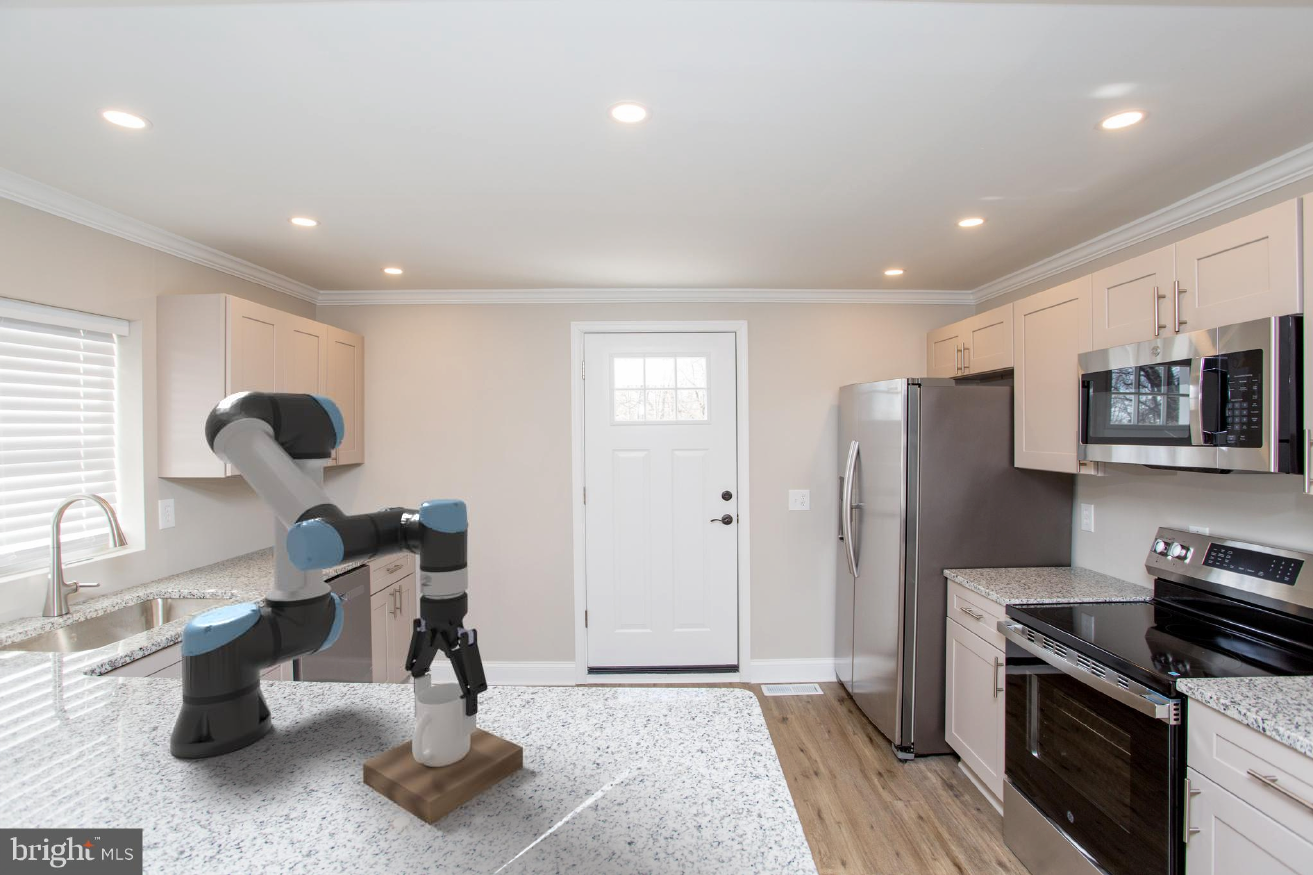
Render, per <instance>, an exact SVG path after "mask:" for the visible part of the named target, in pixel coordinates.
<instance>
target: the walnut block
mask: <svg viewBox="0 0 1313 875" xmlns="http://www.w3.org/2000/svg"><path fill="white" fill-rule="evenodd" d="M412 740H413V738H412V739H411V740H408V741H406V742H404V743H402V744H400V745H398V746H396V747H394V748H392V749H389V750H388V751H386V752H383V753H381V754H379V755H377V756H374V757H373V758H371V759H369V760H366V761H365V762H363V763H362V767H363V768H362V781H363V784H365V785H366V786H367V787H369V788H371V789H372V790H374V791H375V792H377V793H378V794H380V795H382V796H383V797H385V798H386V799H388V800H390V801H391V802H393V803H395V804H396V805H397V806H399V807H401V808H403V809H404V810H405V811H407V812H409V813H410V814H412V815H413V816H414V817H417V818H418V819H419V820H421V821H422V822H424V823H426V824H427V823H428V825H429V826H431V825H433V824H434V823H436V822H437V821H439V820H441V819H442V818H443V817H446V816H447V815H449V814H450V813H452V812H453V811H455V810H457V809H458V808H460V807H462V806H463V805H465V804H466V803H467V802H469V801H471V800H473V799H475V798H476V797H477V796H479V795H481V794H483V793H484V792H485V791H487V790H488V789H490V788H492V787H494V786H495V785H496V784H498V783H500V782H501V781H503V780H505V779H506V778H508V777H509V776H511V775H513V774H514V773H516V772H517V771H519V770H520V769H523V767H524V755H523V754H524V747H523V746H521V745H519V744H516V743H514V742H512V741H510V740H507V739H505V738H503V737H500V736H498V735H496V734H494V733H491V732H489V731H486V730H484V729H482V728H480V727H477V726H476V731H475V732H473V733H471V734H470V749H469V752H468V753H467V754H466V756H465V757H464V758H462V759H461V760H459V761H458V762H456V763H453V764H451V765H447V766H443V767H429V766H426V765H424V764H423V763H419V762H417V761H416V760H415V758H414V756H413V752H412Z"/></svg>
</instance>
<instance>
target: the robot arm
mask: <svg viewBox="0 0 1313 875" xmlns="http://www.w3.org/2000/svg"><path fill="white" fill-rule="evenodd" d="M204 425H205V427H204V434H205V436H204V437H205V439H206V442H207V445H208V446H209V448H210V449H211V451H212V452H213V454H215V456H216V457H217V458H218V459H219V460H220V461H221V462H223V463H225V464H228V465H232V466H233V467H234V469H236V471H237V472H239V474H240V475H241V476H242V478H243V479H245V481H246V482H247V483H248V485H249V486H250V487H251V488H252V489H253V491H255V493H256V494H257V495H258V496H259V497H260V499H261V500H262V501H263V502H264V503H265V504H266V506H268V508H269V509H270V510H271V511H272V513H273V519H274V520H273V522H274V524H273V533H274V534H273V536H274V537H273V540H274V541H273V545H274V546H273V549H274V550H273V551H274V552H273V577H274V578H273V586H272V587H271V588H270V589H269V590H268V591H267V592H266V593H265V595H264V596H265V597H264V606H262V607H259V605H258V604H257V603H253V602H242V603H236V604H233V605H232V604H231V605H225V606H221V607H218V608H214V609H211V610H208V611H206V612H203V613H202V614H199V615H198V616H195V617H194V618H193V619H191V620H190V621H189V622H188V623H186V625H185V627H183V630H182V641H181V646H180V654H181V672H182V673H181V678H182V680H181V682H182V684H181V687H182V704H181V707H180V711H179V714H178V716H177V719H176V721H175V724H174V727H173V728H172V729H173V730H172V732H171V735H170V738H169V741H170V742H169V746H170V747H169V749H170V750H169V751H170V754H171V755H172V756H174V757H175V758H180V759H188V760H192V759H193V760H195V759H204V758H210V757H216V756H220V755H224V754H228V753H230V752H234V751H236V750H240V749H242V748H245V747H246V746H249V745H251V744H254V743H255V742H257V741H258V740H260V739H261V738H263V737H264V736H266V735H267V734H268V733H269V731H270V730H271V728H272V712H271V710H270V707H269V705H268V702H267V700H266V697H265V696H264V693H263V691H262V688H261V671H263V670H265V669H270V668H272V667H274V666H278V665H281V664H285V663H287V662H288V663H289V662H290V661H293V660H298V659H301V658H303V657H308V656H312V655H315V654H316V653H318V652H321V651H323V650H325V649H327V648H330V647H332V645H333V644H335V642H336V641H337V640H338V638H339V637H340V635H341V632H342V629H343V626H344V618H345V616H344V615H345V614H344V613H345V612H344V607H343V606H342V605H341V604H342V600H341V599H340V597H339V596H338V595H337V594H336V593H334V592H332V587H331V586H330V584H328V583H327V582H325V581H324V579H323V578H324V576H323V575H324V574H323V573H324V572H323V571H324V570H327V569H332V568H334V567H338V566H339V567H340V566H345V565H349V564H353V563H357V562H362V561H367V560H372V559H377V558H383V557H387V556H391V555H398V554H411V555H412V554H413V555H418V556H419V571H420V572H419V574H420V575H419V576H420V578H419V587H420V588H419V590H420V591H419V592H420V594H422V595H421V596H420V598H419V617H417V618H415V619H413V620H412V628H413V629H412V630H413V631H412V635H411V640H410V644H409V648H408V651H407V656H406V661H405V663H404V664H405V665H404V669H405V671H406V672H410V673H411V677H412V678H413V692H414V693H413V694H414V717H415V718H417V712H416V697H417V695H418V694H419V693H420V692H421V691H423V690H424V689H426V688H429V687H431V686H432V673H429V672H431V671H432V670H431V668H430V667H431V665H432V663H433V661H434V659H435V657H436V655H437V653H438V652H439V650H440V651H441V652H443V653H444V656H445V657H446V659H449V661H450V664H451V666H452V668H453V669H452V670H453V672H454V674H455V677H456V679H457V681H458V682H457V683H459V685H460V687H461V690H462V693H463V695H461V696H459V737H461V738H463V737H465V736H467V735H469V734H471V733H473V732H475V731H476V727H477V714H478V712H479V710H478V708H479V705H478V704H479V701H478V700H479V698H478V696H479V694H481V693H484V692H485V691H486V692H487V690H488V687H489V686H488V684H487V679H486V674H485V670H484V666H483V662H482V658H481V652H480V649H479V644H478V631H477V629H476V628H472V629H465V626H464V618H465V616H466V615H467V614H468V611H469V606H468V605H469V601H468V599H469V595H468V593H467V592H466V591H467V590H468V588H469V575H468V574H469V571H468V570H469V569H468V568H469V567H468V538H469V537H468V528H469V522H468V512H467V511H468V508H467V505H466V503H465V502H464V501H463V500H461V499H457V498H456V499H453V498H452V499H446V498H442V499H441V498H440V499H430V500H425V501H423V502H421V503H420V505H419V509H415V508H413V509H412V508H406V507H403V506H396V507H384V508H382V509H380V510H379V511H377V512H368V513H360V514H351V515H346V514H345V513H344V511H343V510H342V509H341V508H339V507H338V506H337V505H336V504H335V503H334V502H333V500H332V499H331V498H330V497H329V496H327V494H326V493H325V492H324V467H325V465H326V464H328V463H329V462H330V461H331V460H332V451H335V450H336V449H338V448H339V447H340V446H341V445H342V443H343V440H344V437H345V432H346V431H345V421H344V418H343V414H342V412H341V410H340V408H339V407H338V406H337V404H336V403H335V402H334V401H333V400H332V399H331V398H329V397H327V396H324V395H317V394H311V393H306V392H304V393H292V392H271V391H270V392H269V391H268V392H265V391H258V390H257V391H256V390H253V391H252V390H250V391H249V390H248V391H243V392H237V393H234V394H231V395H229V396H226V397H225V398H224V399H222V400H221V401H220V402H218V403H217V404H215V406H214V407H213V408H212V410H211V411H210V412H209V414H208V416H207V418H206V421H205V424H204ZM457 647H458V648H457Z"/></svg>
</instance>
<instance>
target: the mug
mask: <svg viewBox="0 0 1313 875" xmlns="http://www.w3.org/2000/svg"><path fill="white" fill-rule="evenodd" d="M461 695H463V693H462V690H461V687H460V685H459V682H443V683H439V684H435V685H431V687H429V688H426V689H424V690H423V691H421V692H420V693H419V694H418V695H417V697H416V712H417V717H416V725H415V727H414V730H413V734H412V739H413V740H412V739H411V740H412V752H413V756H414V758H415V760H416V761H417V762H419V763H423V764H424V765H426V766H429V767H443V766H447V765H451V764H453V763H456V762H458V761H459V760H461V759H462V758H464V757H465V756H466V754H467V753H468V752H469V749H470V734H469V735H467V736H465V737H463V738H461V737H459V696H461Z"/></svg>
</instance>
